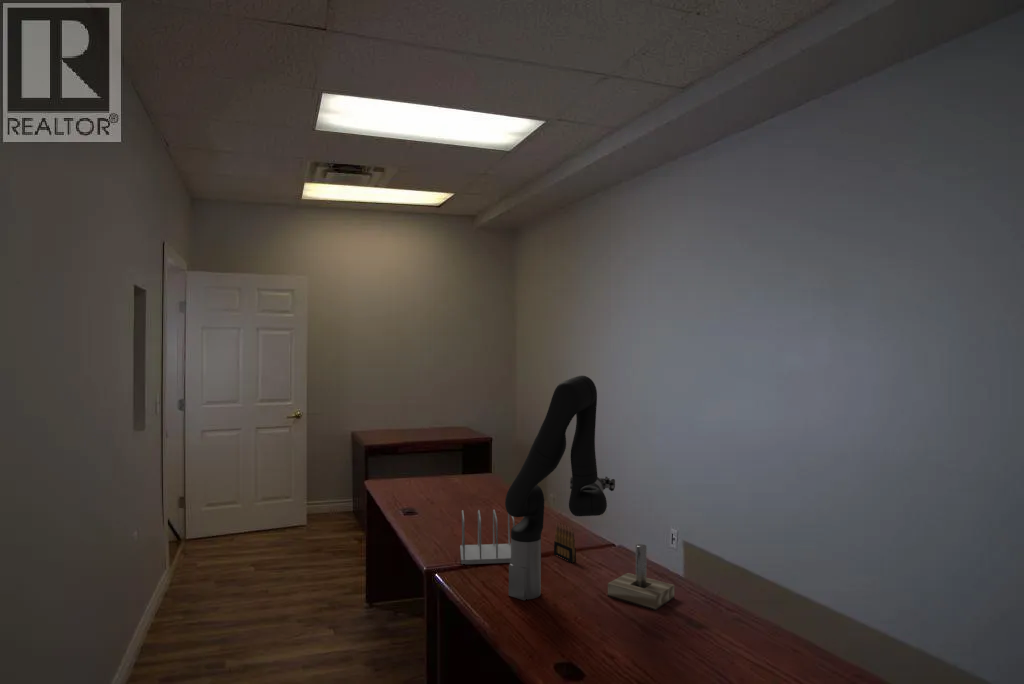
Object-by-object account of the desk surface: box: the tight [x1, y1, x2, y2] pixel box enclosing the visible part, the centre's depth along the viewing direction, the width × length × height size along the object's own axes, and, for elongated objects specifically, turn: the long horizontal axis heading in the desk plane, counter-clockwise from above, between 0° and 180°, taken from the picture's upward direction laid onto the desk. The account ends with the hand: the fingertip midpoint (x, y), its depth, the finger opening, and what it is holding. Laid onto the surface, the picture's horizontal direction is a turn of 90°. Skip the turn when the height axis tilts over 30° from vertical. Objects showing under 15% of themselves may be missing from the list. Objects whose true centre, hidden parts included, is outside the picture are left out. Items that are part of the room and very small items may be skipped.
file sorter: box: [459, 509, 524, 565], centre depth 235 cm, size 25×17×16 cm
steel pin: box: [635, 543, 647, 588], centre depth 197 cm, size 3×3×15 cm
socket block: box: [607, 572, 675, 611], centre depth 197 cm, size 12×16×4 cm
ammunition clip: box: [553, 521, 577, 564], centre depth 232 cm, size 11×2×12 cm, turn 33°
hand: (593, 479), depth 215 cm, fingers open, 8 cm apart
